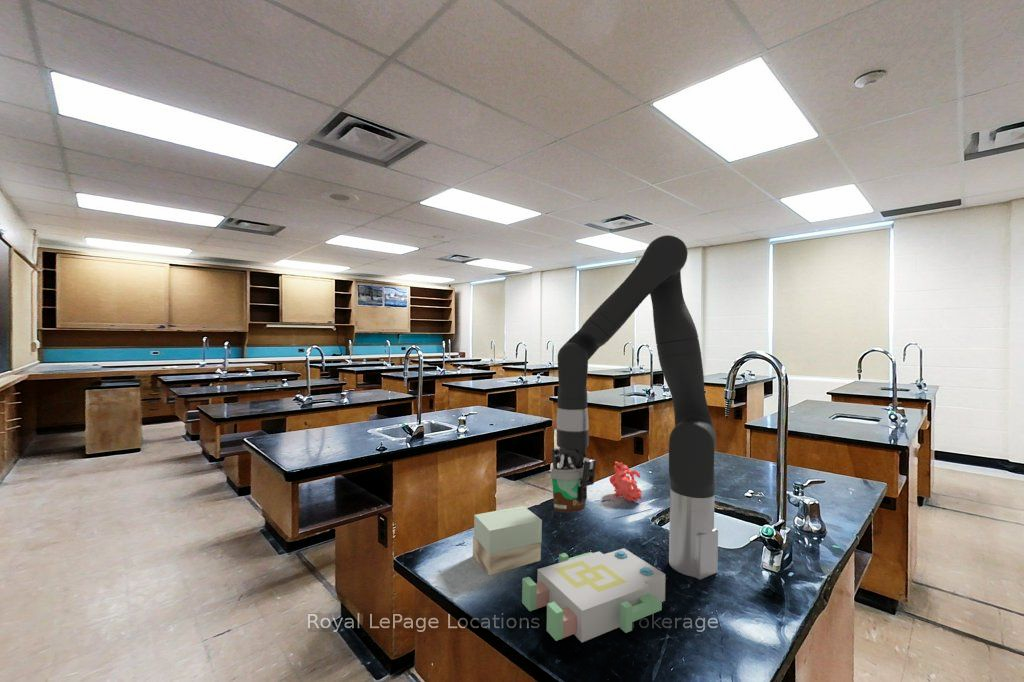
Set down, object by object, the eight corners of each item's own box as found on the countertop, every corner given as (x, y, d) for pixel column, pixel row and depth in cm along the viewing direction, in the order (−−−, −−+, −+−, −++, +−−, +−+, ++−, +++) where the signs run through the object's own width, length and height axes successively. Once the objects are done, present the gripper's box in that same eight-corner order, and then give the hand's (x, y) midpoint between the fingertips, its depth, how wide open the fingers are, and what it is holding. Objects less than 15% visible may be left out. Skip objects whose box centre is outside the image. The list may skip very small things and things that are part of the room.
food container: (574, 519, 93) (573, 474, 93) (550, 512, 97) (550, 469, 97) (599, 502, 103) (599, 461, 103) (577, 496, 107) (576, 457, 107)
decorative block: (610, 536, 96) (683, 581, 79) (610, 564, 97) (683, 616, 79) (511, 564, 84) (571, 624, 67) (511, 596, 84) (571, 665, 67)
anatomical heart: (637, 511, 130) (632, 476, 128) (605, 499, 139) (600, 467, 137) (652, 497, 135) (647, 463, 133) (620, 487, 144) (615, 455, 142)
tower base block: (540, 562, 97) (540, 540, 97) (490, 577, 91) (490, 554, 91) (520, 545, 105) (520, 525, 105) (472, 557, 99) (473, 536, 99)
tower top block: (541, 541, 97) (541, 520, 97) (489, 553, 91) (489, 530, 91) (523, 525, 105) (523, 505, 105) (474, 536, 99) (474, 514, 99)
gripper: (605, 430, 96) (605, 504, 96) (566, 420, 109) (566, 485, 109) (579, 434, 92) (580, 511, 92) (542, 423, 105) (542, 491, 105)
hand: (572, 497), depth 101 cm, fingers closed on food container, 5 cm apart
